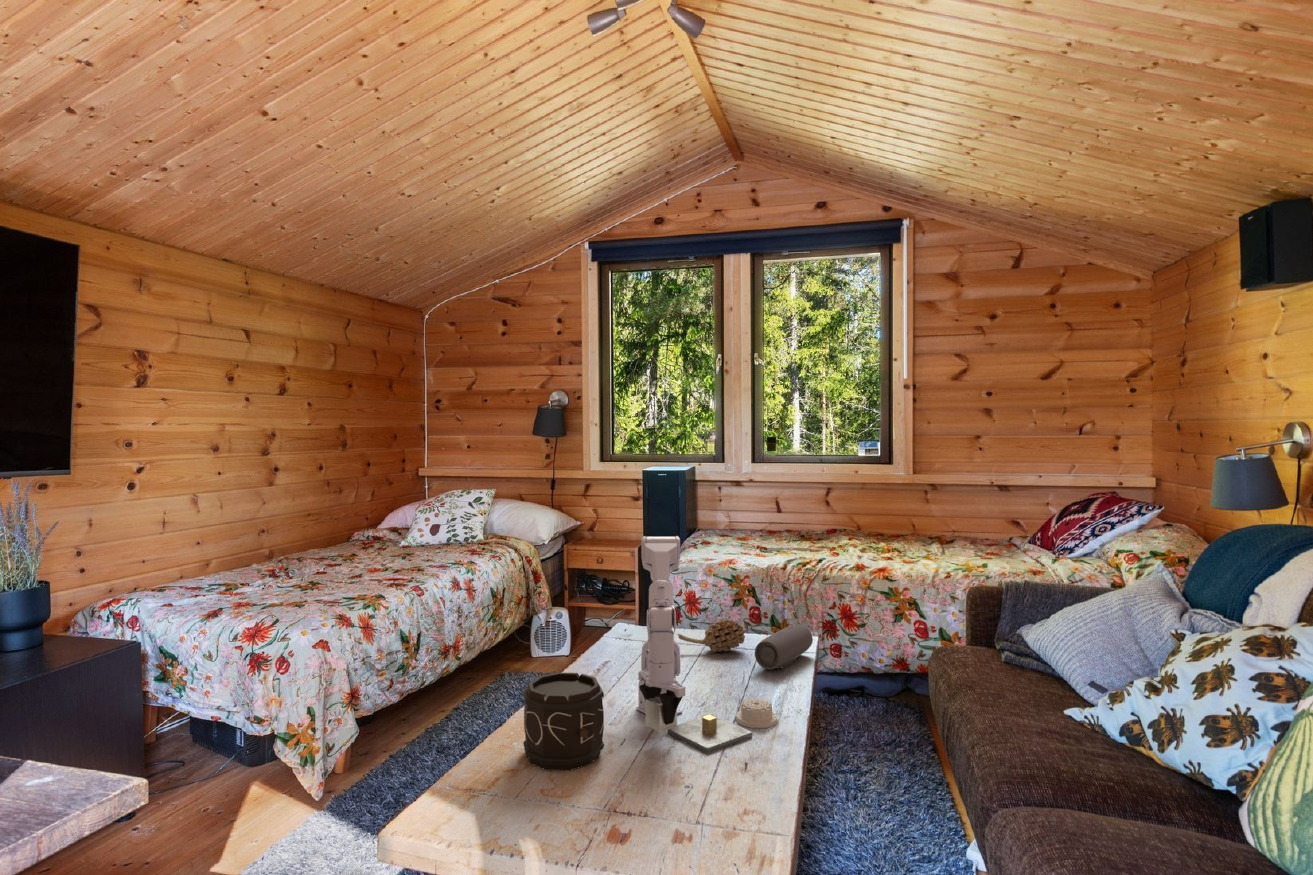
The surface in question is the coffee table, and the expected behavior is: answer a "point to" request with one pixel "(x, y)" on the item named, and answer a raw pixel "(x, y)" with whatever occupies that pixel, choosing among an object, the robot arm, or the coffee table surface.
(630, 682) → the coffee table surface
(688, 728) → the post plate
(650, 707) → the collar
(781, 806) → the coffee table surface
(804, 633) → the bluetooth speaker
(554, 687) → the wooden barrel
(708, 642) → the pine cone
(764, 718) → the mechanical component
